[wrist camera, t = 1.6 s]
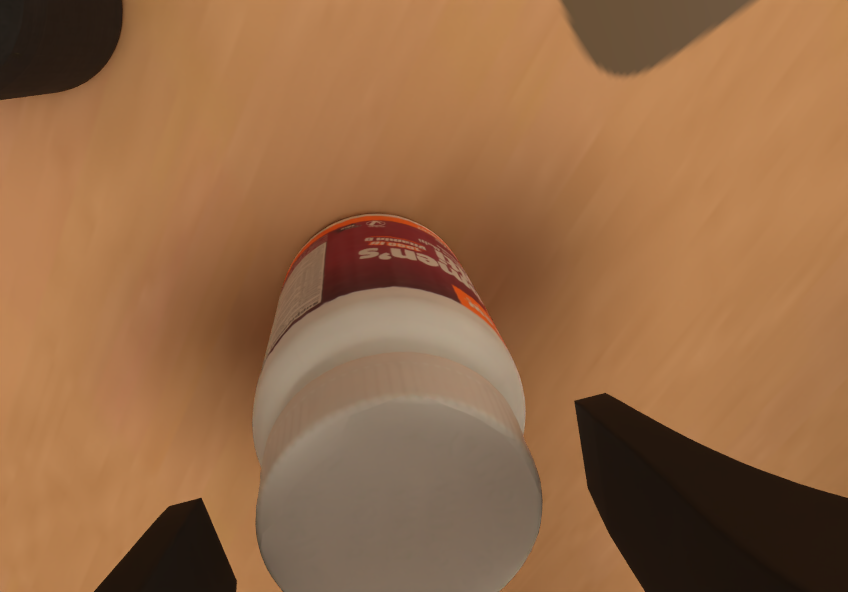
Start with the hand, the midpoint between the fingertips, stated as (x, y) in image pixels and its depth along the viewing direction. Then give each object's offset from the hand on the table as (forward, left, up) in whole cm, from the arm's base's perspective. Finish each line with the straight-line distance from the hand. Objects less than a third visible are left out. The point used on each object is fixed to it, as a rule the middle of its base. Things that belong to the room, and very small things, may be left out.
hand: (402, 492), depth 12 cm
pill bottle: (0, 0, -11) cm, 11 cm away
